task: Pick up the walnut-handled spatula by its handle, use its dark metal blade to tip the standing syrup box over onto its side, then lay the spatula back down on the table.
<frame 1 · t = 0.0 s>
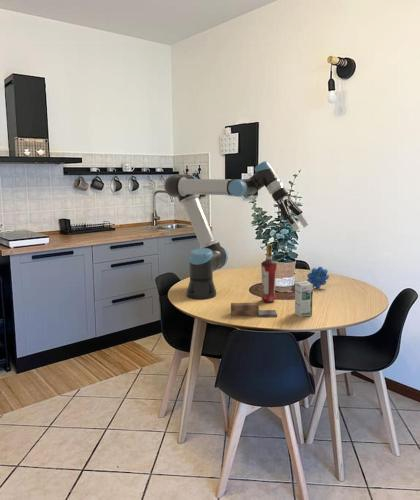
hand: (302, 227, 209), 36 cm above the table, tool tilted 35°, fingers open, 13 cm apart
grapes: (317, 288, 238), on the table
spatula: (249, 314, 196), on the table
syrup box: (303, 314, 196), on the table
liquor: (268, 301, 216), on the table
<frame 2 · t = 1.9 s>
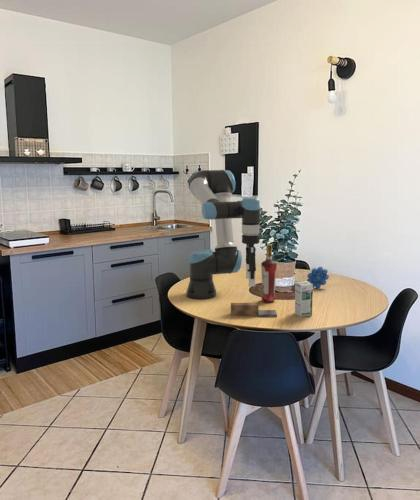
hand: (250, 282, 194), 15 cm above the table, tool pointing down, fingers open, 13 cm apart
nothing on the table moved.
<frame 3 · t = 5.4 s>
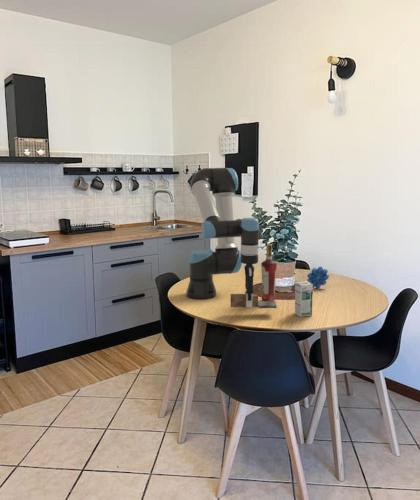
hand: (248, 305, 196), 4 cm above the table, tool pointing down, fingers closed on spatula, 3 cm apart
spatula: (248, 305, 196), point 4 cm above the table, touching gripper
everything else where it was.
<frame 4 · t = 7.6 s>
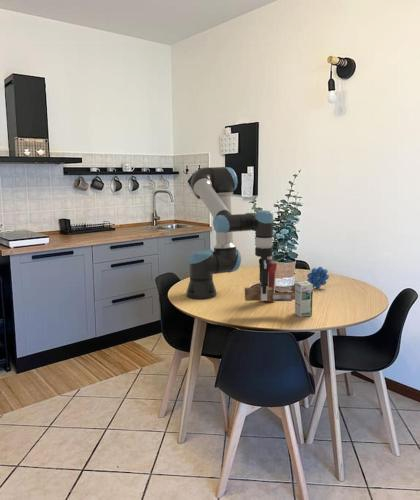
hand: (263, 298, 195), 7 cm above the table, tool pointing down, fingers closed on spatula, 3 cm apart
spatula: (263, 299, 195), point 7 cm above the table, touching gripper
everything else where it was.
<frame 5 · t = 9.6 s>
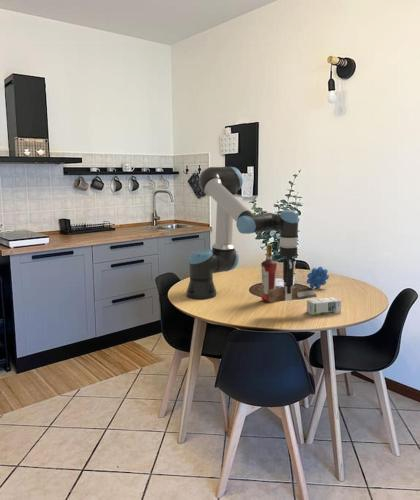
hand: (287, 298, 195), 7 cm above the table, tool pointing down, fingers closed on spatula, 4 cm apart
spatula: (287, 298, 195), point 7 cm above the table, tilted 7°, touching gripper
syrup box: (308, 307, 196), point 3 cm above the table
everything else where it was.
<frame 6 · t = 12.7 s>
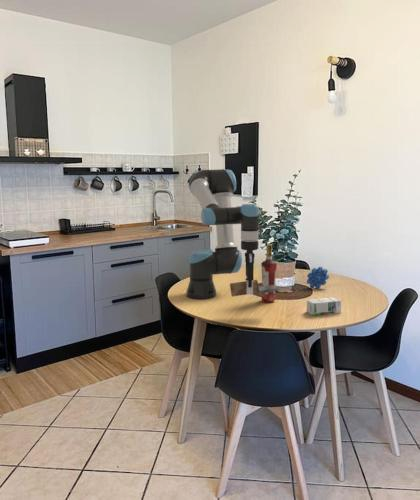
hand: (249, 292, 194), 10 cm above the table, tool pointing down, fingers closed on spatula, 4 cm apart
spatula: (249, 292, 194), point 10 cm above the table, tilted 7°, touching gripper
everything else where it was.
when the fingers open (0 cm above the table, at t = 15.0 s): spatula stays where it is, on the table.
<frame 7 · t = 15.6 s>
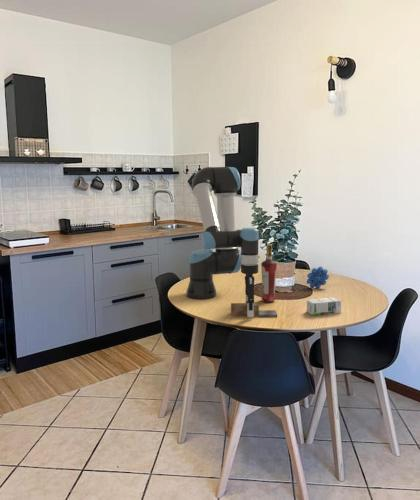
hand: (249, 313, 195), 1 cm above the table, tool pointing down, fingers open, 10 cm apart
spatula: (249, 315, 196), on the table
everything else where it was.
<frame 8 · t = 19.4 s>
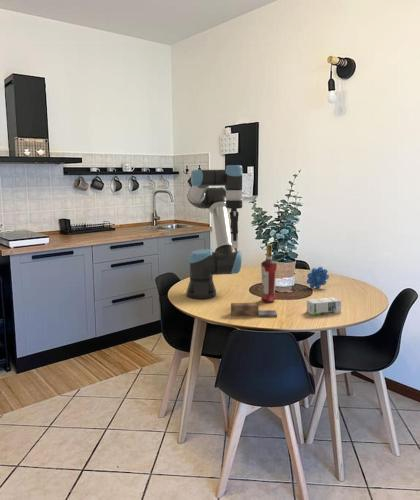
hand: (234, 245, 206), 29 cm above the table, tool pointing down, fingers open, 13 cm apart
nothing on the table moved.
at the end: syrup box tilted 90°; the gripper is holding nothing; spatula inside the target area (0.3 cm from its centre), on the table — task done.
